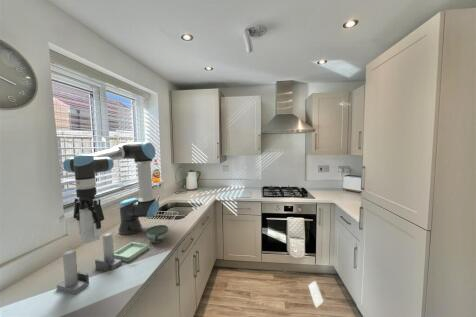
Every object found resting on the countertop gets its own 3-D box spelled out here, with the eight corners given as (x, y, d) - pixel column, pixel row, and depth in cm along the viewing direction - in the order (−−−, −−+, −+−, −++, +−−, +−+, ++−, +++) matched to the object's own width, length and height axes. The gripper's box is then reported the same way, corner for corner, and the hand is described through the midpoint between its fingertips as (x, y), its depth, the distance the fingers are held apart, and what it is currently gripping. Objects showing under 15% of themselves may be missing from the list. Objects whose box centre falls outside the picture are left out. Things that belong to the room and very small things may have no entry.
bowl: (173, 237, 135) (172, 226, 135) (159, 247, 123) (158, 234, 122) (156, 235, 140) (156, 224, 139) (141, 244, 127) (140, 232, 126)
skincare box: (80, 239, 97) (77, 208, 95) (95, 234, 101) (92, 205, 100) (85, 244, 91) (82, 212, 90) (100, 239, 96) (98, 208, 95)
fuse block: (57, 289, 88) (54, 253, 87) (106, 260, 110) (104, 231, 109) (74, 294, 84) (71, 257, 83) (121, 263, 106) (119, 234, 105)
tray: (110, 258, 112) (110, 254, 111) (132, 245, 125) (131, 241, 125) (128, 262, 108) (128, 257, 108) (148, 248, 122) (148, 244, 121)
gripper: (61, 188, 94) (65, 234, 96) (95, 190, 87) (99, 240, 89) (78, 185, 101) (81, 228, 103) (111, 187, 94) (114, 233, 96)
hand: (89, 233), depth 96 cm, fingers closed on skincare box, 9 cm apart
